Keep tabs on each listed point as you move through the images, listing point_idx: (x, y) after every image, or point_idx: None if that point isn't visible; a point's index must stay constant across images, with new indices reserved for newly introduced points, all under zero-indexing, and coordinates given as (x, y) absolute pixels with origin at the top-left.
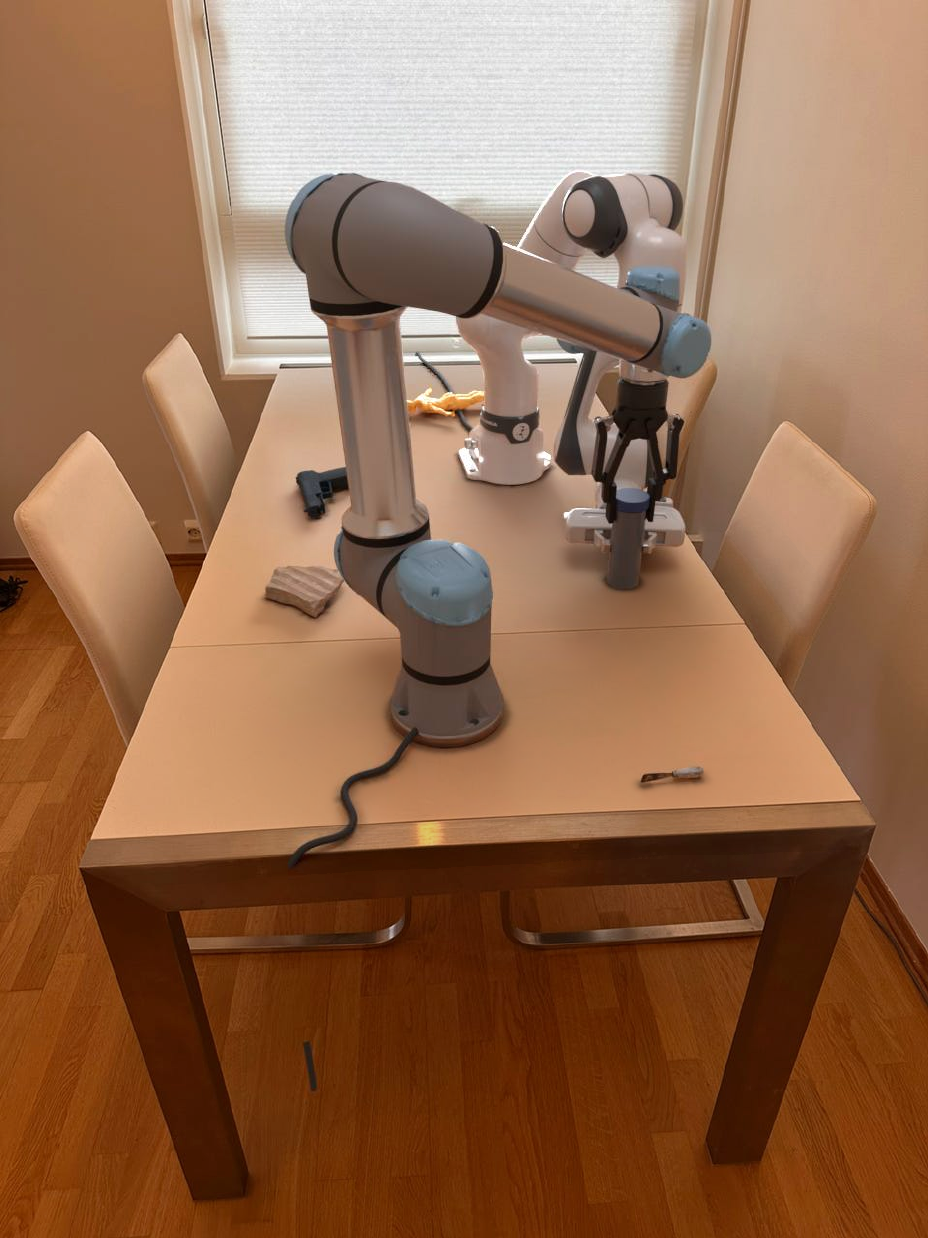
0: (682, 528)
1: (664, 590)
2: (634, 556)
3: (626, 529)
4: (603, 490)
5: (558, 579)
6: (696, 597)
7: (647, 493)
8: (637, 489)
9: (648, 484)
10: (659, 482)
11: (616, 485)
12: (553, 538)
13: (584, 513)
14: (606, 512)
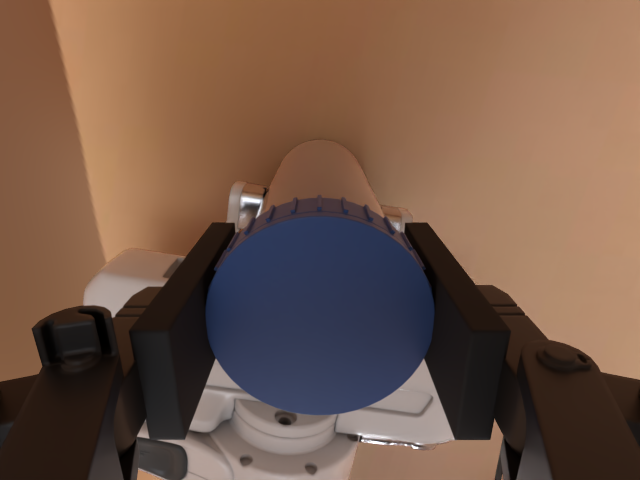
0: (95, 281)
1: (212, 124)
2: (301, 159)
3: (348, 184)
4: (537, 335)
5: (489, 211)
6: (126, 74)
7: (213, 340)
8: (264, 394)
9: (195, 392)
10: (104, 344)
11: (471, 340)
12: None
13: (418, 412)
14: None
